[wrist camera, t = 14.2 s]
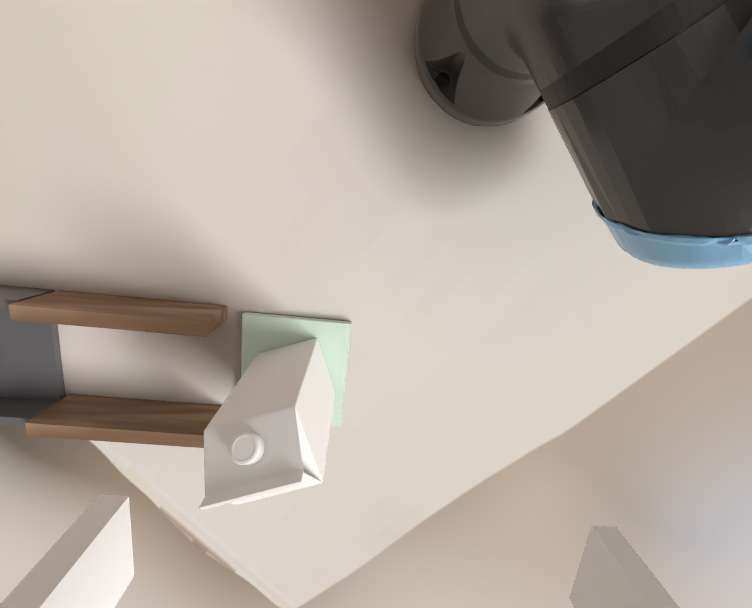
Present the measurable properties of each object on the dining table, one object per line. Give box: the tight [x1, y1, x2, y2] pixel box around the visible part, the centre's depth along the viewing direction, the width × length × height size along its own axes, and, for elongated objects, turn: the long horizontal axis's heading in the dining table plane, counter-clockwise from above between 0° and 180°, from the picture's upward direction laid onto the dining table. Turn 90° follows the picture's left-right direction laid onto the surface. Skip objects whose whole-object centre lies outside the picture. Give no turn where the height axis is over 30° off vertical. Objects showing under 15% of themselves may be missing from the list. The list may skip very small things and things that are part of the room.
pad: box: [241, 312, 351, 427], centre depth 44 cm, size 13×12×1 cm
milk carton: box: [199, 338, 335, 510], centre depth 34 cm, size 7×7×19 cm
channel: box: [9, 291, 227, 448], centre depth 40 cm, size 14×18×6 cm
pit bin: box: [0, 285, 65, 427], centre depth 40 cm, size 14×8×4 cm, turn 174°
